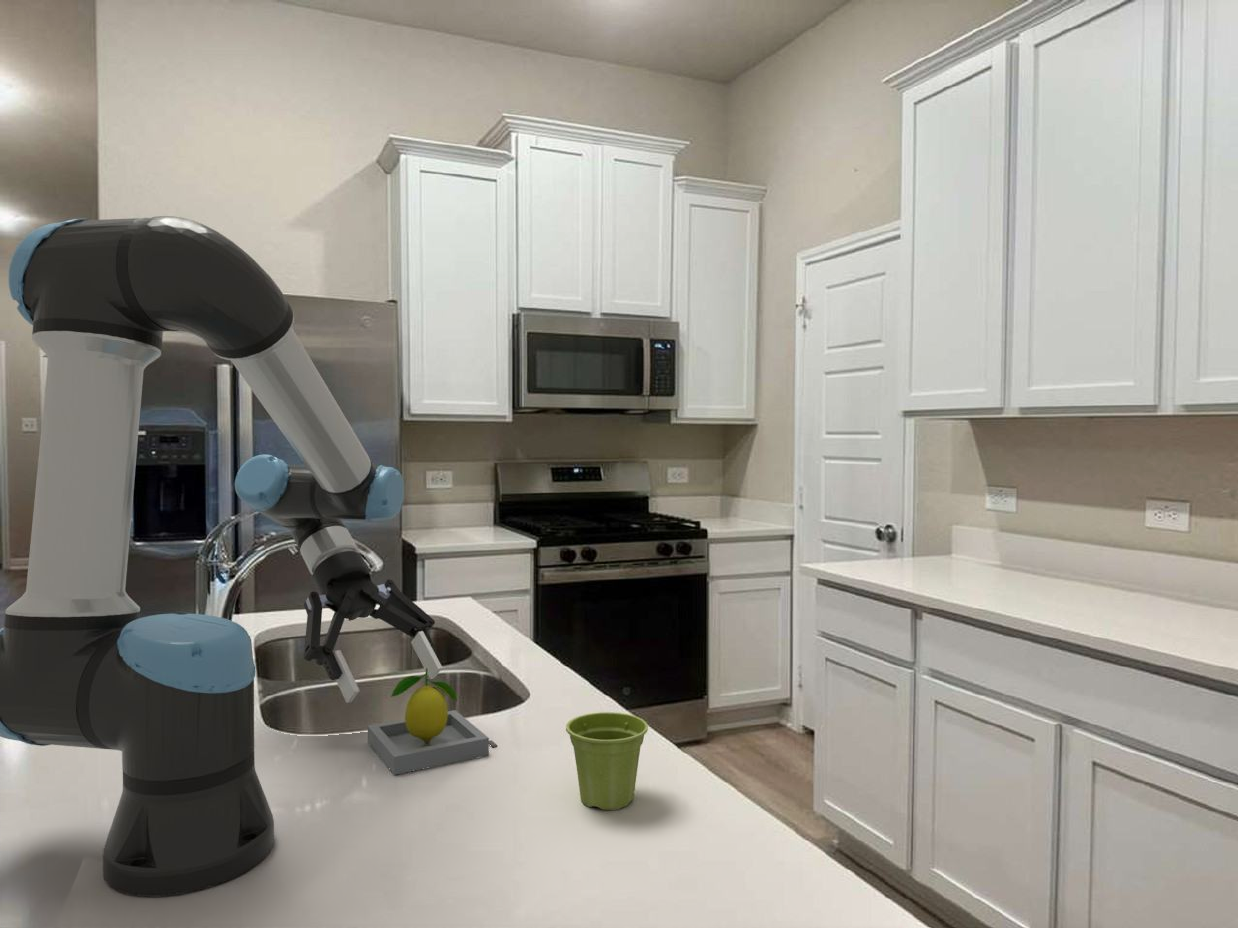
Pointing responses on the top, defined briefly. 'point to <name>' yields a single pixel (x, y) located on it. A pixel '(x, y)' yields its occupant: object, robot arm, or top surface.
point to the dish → (427, 744)
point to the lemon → (425, 707)
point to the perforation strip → (492, 743)
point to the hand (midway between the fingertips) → (396, 684)
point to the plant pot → (607, 756)
